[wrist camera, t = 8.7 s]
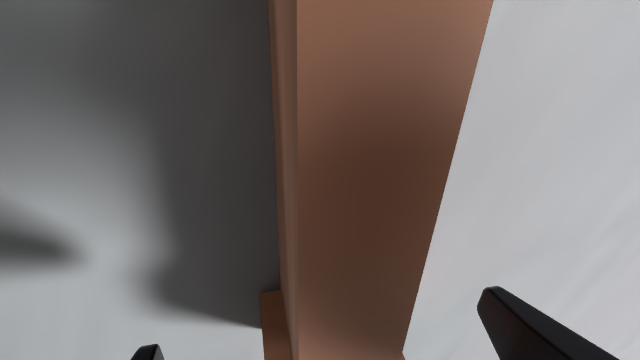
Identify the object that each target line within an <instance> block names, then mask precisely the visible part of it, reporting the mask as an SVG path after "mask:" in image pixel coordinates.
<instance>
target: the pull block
mask: <svg viewBox="0 0 640 360" xmlns="http://www.w3.org/2000/svg"><path fill="white" fill-rule="evenodd" d="M492 4H493V0H268V14H269V36H270V58H271V81H272V103H273V125H274V148H275V170H276V193H277V215H278V237H279V260H280V282H281V290H276V291H270V292H263V293H259V295H260V308H261V321H262V334H263V347H264V359H265V360H405V358H404V356H403V353H402V351H403V347H404V343H405V339H406V335H407V331H408V327H409V324H410V320H411V316H412V312H413V308H414V304H415V301H416V297H417V293H418V289H419V285H420V281H421V277H422V274H423V270H424V266H425V262H426V258H427V254H428V250H429V247H430V243H431V239H432V235H433V231H434V227H435V224H436V220H437V216H438V212H439V208H440V204H441V200H442V197H443V193H444V189H445V185H446V181H447V177H448V173H449V170H450V166H451V162H452V158H453V154H454V150H455V146H456V143H457V139H458V135H459V131H460V127H461V123H462V120H463V116H464V112H465V108H466V104H467V100H468V96H469V93H470V89H471V85H472V81H473V77H474V73H475V69H476V66H477V62H478V58H479V54H480V50H481V46H482V43H483V39H484V35H485V31H486V27H487V23H488V19H489V16H490V12H491V8H492Z"/></svg>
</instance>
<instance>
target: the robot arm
mask: <svg viewBox="0 0 640 360" xmlns="http://www.w3.org/2000/svg"><path fill="white" fill-rule="evenodd" d="M477 311H478V314H479V316H480V319H481V321H482V323H483V325H484V327H485V329H486V331H487V333H488V335H489V338H490V340H491V342H492V344H493V346H494V348H495V350H496V352H497V354H498V356H499V358H500V360H619V359H618V358H616V357H614V356H613V355H611V354H609V353H608V352H606V351H604V350H603V349H601V348H600V347H598V346H596V345H595V344H593V343H591V342H590V341H588V340H587V339H585V338H583V337H582V336H580V335H578V334H577V333H575V332H573V331H572V330H570V329H569V328H567V327H565V326H564V325H562V324H560V323H559V322H557V321H555V320H554V319H552V318H551V317H549V316H547V315H546V314H544V313H542V312H541V311H539V310H538V309H536V308H534V307H533V306H531V305H529V304H528V303H526V302H524V301H523V300H521V299H520V298H518V297H516V296H515V295H513V294H511V293H510V292H508V291H506V290H505V289H503V288H501V287H499V286H493V287H487V288H485V289H484V290H483V292H482V295H481V297H480V300H479V302H478V305H477ZM131 360H164V357H163V354H162V352H161V349H160V346H159V345H158V344H152V345H146V346H142V347H140V348H139V349H138V350H137V351H136V353H135V354H134V355H133V357H132V358H131Z"/></svg>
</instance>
